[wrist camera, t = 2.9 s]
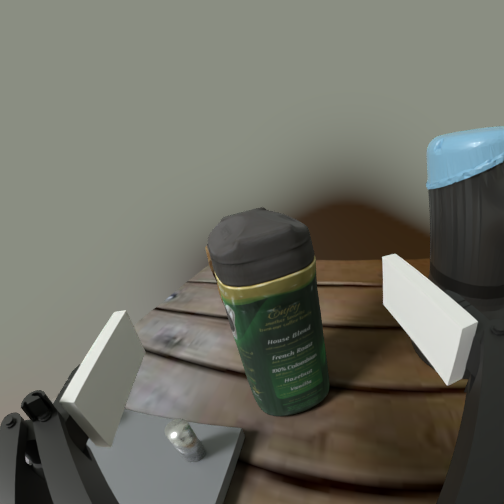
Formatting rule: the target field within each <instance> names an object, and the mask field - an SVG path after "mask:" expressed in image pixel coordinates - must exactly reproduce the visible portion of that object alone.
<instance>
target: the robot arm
mask: <svg viewBox="0 0 504 504" xmlns="http://www.w3.org/2000/svg"><path fill="white" fill-rule="evenodd" d="M427 169H428V170H427V171H428V181H427V184H426V186H427V188H428V190H429V207H430V274H429V277H428V279H427V278H426V277H425V276H424V275H422V274H421V273H420V272H419V271H417V270H416V269H415V268H413V267H412V266H411V265H410V264H408V263H407V262H406V261H404V260H403V259H402V258H400V257H399V256H398V255H396V254H392V255H388V256H384V257H382V260H383V305H384V306H385V307H386V308H387V309H388V311H389V312H390V313H391V314H392V315H393V317H394V318H395V319H396V320H397V321H398V323H399V324H400V325H401V326H402V328H403V329H404V330H405V331H406V333H407V334H408V335H409V336H410V338H411V341H412V345H413V347H414V349H415V351H416V353H417V354H418V355H419V357H420V358H421V359H422V360H423V361H424V362H425V363H426V364H428V365H429V366H430V367H432V368H433V369H435V370H436V371H437V373H438V374H439V375H440V377H441V378H442V379H443V381H444V382H445V383H446V385H447V386H448V385H450V384H452V383H454V382H456V381H458V380H460V379H462V378H463V379H469V380H468V383H467V385H466V388H465V391H464V392H467V394H466V400H465V406H464V411H463V416H462V421H461V426H460V430H459V434H458V438H457V442H456V446H455V450H454V453H453V457H452V460H451V464H450V467H449V470H448V473H447V476H446V479H445V482H444V485H443V488H442V490H441V493H440V496H439V498H438V501H437V503H436V504H503V502H504V126H498V127H488V128H480V129H473V130H466V131H460V132H454V133H449V134H444V135H440V136H438V137H436V138H434V139H433V140H432V141H431V142H430V143H429V145H428V148H427ZM144 355H145V350H144V348H143V346H142V343H141V341H140V339H139V337H138V335H137V333H136V331H135V328H134V326H133V324H132V322H131V320H130V317H129V315H128V313H127V311H126V310H124V311H118V312H114V314H113V315H112V316H111V318H110V320H109V321H108V322H107V324H106V325H105V327H104V328H103V330H102V331H101V333H100V335H99V336H98V338H97V339H96V341H95V342H94V344H93V346H92V347H91V349H90V350H89V352H88V354H87V355H86V357H85V359H84V361H83V362H82V363H81V364H80V365H79V366H78V367H76V368H75V369H74V370H73V371H72V373H71V375H70V376H69V378H68V380H67V381H66V383H65V384H64V387H63V388H62V390H61V391H60V393H59V395H58V396H57V398H56V400H55V402H54V403H53V404H52V402H51V401H50V400H49V398H48V397H47V396H46V394H45V393H44V392H43V391H41V390H39V391H38V390H37V391H34V392H32V393H30V394H28V395H27V396H26V397H25V398H24V400H23V401H22V403H21V408H22V409H23V411H24V412H25V413H26V414H27V416H28V417H29V418H30V419H31V420H24V419H23V418H22V417H21V416H20V414H18V413H11V414H9V415H7V416H6V417H5V418H4V419H3V421H2V423H1V426H0V504H119V502H118V501H117V499H116V497H115V496H114V494H113V492H112V490H111V488H110V487H109V485H108V483H107V481H106V479H105V477H104V475H103V474H102V472H101V470H100V468H99V466H98V464H97V461H96V459H95V457H94V455H93V453H92V451H91V449H90V448H89V446H88V445H87V441H88V439H90V440H91V441H92V442H93V443H94V444H95V445H96V446H99V447H109V448H111V446H112V443H113V440H114V437H115V434H116V431H117V428H118V425H119V422H120V419H121V417H122V414H123V411H124V408H125V405H126V403H127V400H128V397H129V394H130V392H131V389H132V386H133V383H134V381H135V378H136V376H137V373H138V370H139V368H140V365H141V363H142V360H143V357H144ZM25 456H26V457H27V458H28V459H29V464H27V463H26V460H25Z"/></svg>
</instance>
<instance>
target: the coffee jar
mask: <svg viewBox="0 0 504 504" xmlns="http://www.w3.org/2000/svg"><path fill="white" fill-rule="evenodd" d="M207 248H208V251H209V254H210V258H211V260H212V265H213V269H214V272H215V276H216V279H217V282H218V286H219V289H220V293H221V296H222V299H223V302H224V306H225V309H226V312H227V316H228V319H229V322H230V326H231V329H232V332H233V335H234V338H235V341H236V344H237V347H238V350H239V354H240V357H241V360H242V363H243V366H244V369H245V373H246V376H247V379H248V382H249V385H250V387H251V390H252V393H253V395H254V398H255V400H256V402H257V404H258V405H259V407H260V408H261V409H262V410H263V411H264V412H265V413H267V414H269V415H273V416H288V415H293V414H296V413H300V412H303V411H305V410H308V409H310V408H312V407H314V406H315V405H317V404H318V403H320V402H321V401H322V400H323V399H324V398H325V397H326V396H327V394H328V392H329V375H328V366H327V358H326V351H325V343H324V336H323V328H322V320H321V312H320V305H319V297H318V291H317V281H316V260H315V256H314V250H313V246H312V241H311V237H310V233H309V230H308V227H307V226H305V225H304V224H302V223H301V222H299V221H298V220H296V219H293V218H291V217H289V216H287V215H284V214H281V213H277V212H273V211H269V210H266V209H265V208H257V209H253V210H249V211H245V212H241V213H237V214H233V215H230V216H226V217H223V218H222V220H221V222H220V223H219V224H218V225H217V226H216V227H215V228H214V229H213V230H212V232H211V233H210V235H209V237H208V244H207Z"/></svg>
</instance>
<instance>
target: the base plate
mask: <svg viewBox="0 0 504 504" xmlns="http://www.w3.org/2000/svg"><path fill="white" fill-rule="evenodd" d="M244 438H245V435H244V433H243V431H242V429H241V428H234V427H224V426H215V425H207V424H199V423H192V422H187V421H186V420H183V419H176V420H174V419H168V418H163V417H158V416H153V415H148V414H144V413H139V412H135V411H131V410H127V409H124V411H123V414H122V417H121V419H120V422H119V425H118V428H117V431H116V434H115V437H114V440H113V443H112V446H111V448H109V447H99V446H96V445H95V444H94V443H93V442H92V441H91V440H90V439H88V441H87V445H88V446H89V448H90V449H91V451H92V453H93V455H94V457H95V459H96V461H97V464H98V466H99V468H100V470H101V472H102V474H103V475H104V477H105V479H106V481H107V483H108V485H109V487H110V488H111V490H112V492H113V494H114V496H115V497H116V499H117V501H118V502H119V504H223V502H224V499H225V496H226V493H227V490H228V487H229V484H230V481H231V478H232V475H233V472H234V469H235V466H236V463H237V460H238V457H239V454H240V451H241V448H242V445H243V442H244Z"/></svg>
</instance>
